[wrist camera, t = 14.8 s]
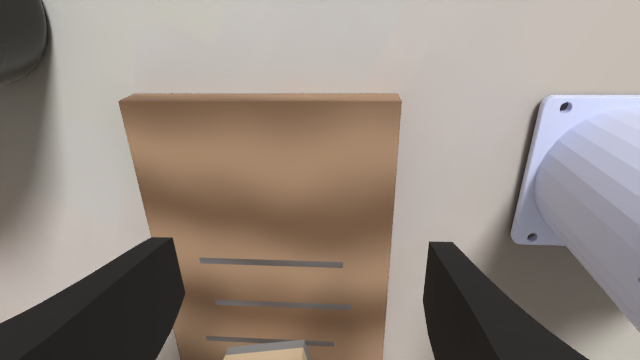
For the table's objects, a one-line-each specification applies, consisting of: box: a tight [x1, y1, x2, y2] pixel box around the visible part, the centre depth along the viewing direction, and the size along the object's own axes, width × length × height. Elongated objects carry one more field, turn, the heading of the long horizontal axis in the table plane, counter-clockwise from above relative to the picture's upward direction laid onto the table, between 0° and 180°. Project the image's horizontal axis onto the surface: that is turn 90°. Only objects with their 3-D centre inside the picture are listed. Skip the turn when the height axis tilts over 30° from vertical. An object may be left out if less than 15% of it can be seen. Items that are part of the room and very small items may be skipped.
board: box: [119, 94, 402, 360], centre depth 23 cm, size 24×13×2 cm, turn 1°
